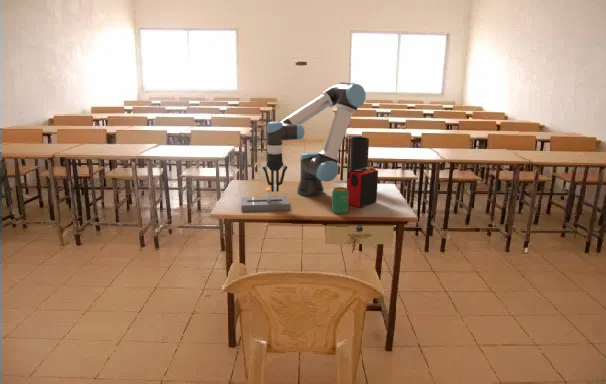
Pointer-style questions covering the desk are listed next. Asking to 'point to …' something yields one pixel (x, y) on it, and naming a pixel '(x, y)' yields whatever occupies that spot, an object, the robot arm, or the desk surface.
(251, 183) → the desk surface
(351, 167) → the vase
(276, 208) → the console
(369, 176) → the radio
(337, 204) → the beverage can
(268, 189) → the fader
